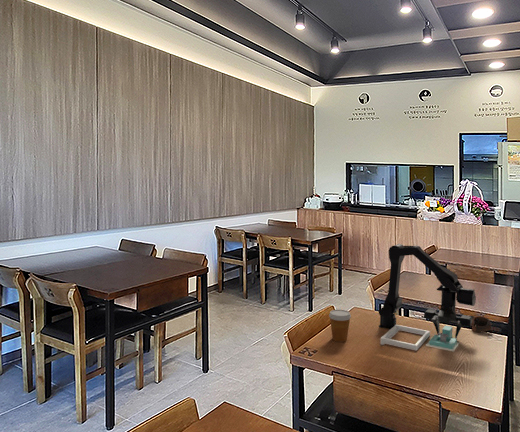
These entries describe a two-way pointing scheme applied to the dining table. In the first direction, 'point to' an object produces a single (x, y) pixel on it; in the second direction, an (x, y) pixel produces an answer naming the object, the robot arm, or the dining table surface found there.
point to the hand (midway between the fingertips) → (447, 336)
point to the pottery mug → (480, 324)
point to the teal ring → (449, 339)
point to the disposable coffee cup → (339, 324)
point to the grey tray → (387, 340)
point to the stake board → (443, 339)
